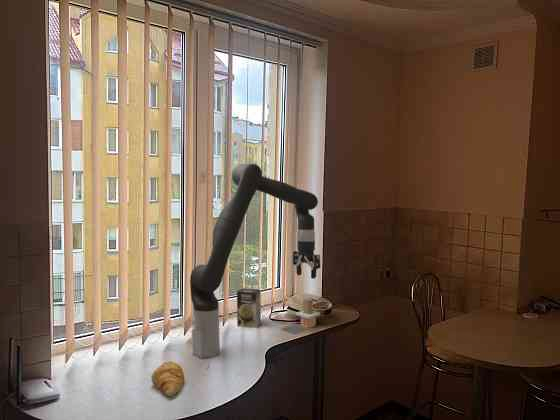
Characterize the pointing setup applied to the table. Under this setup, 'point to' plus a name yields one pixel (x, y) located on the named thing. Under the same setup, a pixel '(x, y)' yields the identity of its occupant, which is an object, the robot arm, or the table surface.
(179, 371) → the croissant
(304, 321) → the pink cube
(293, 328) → the mat
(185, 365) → the table surface
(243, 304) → the coffee box
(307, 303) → the lid
